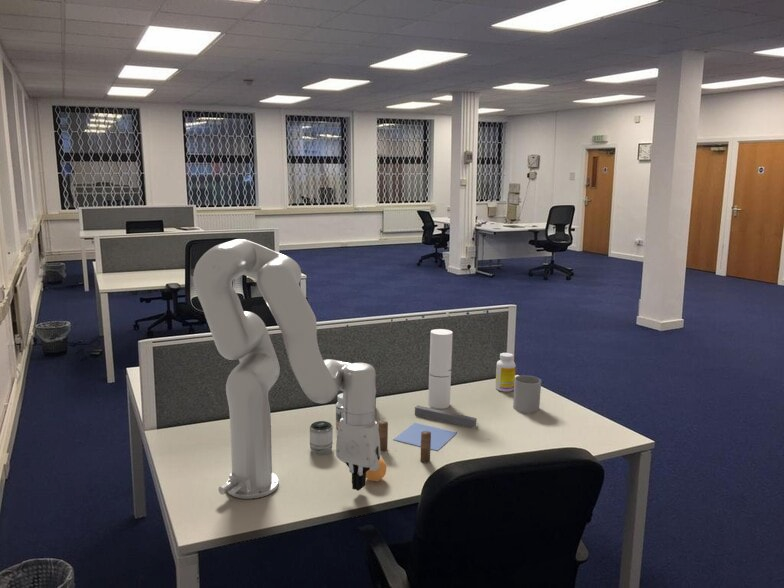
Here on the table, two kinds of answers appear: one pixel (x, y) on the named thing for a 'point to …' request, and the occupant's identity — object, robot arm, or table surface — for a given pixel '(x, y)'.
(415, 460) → the table surface
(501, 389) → the supplement bottle
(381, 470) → the ball
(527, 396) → the cup
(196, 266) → the robot arm
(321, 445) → the camera lens
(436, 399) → the cylindrical container
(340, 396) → the pill bottle
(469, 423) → the wall
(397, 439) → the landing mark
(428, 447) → the right post
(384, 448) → the left post
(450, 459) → the table surface
